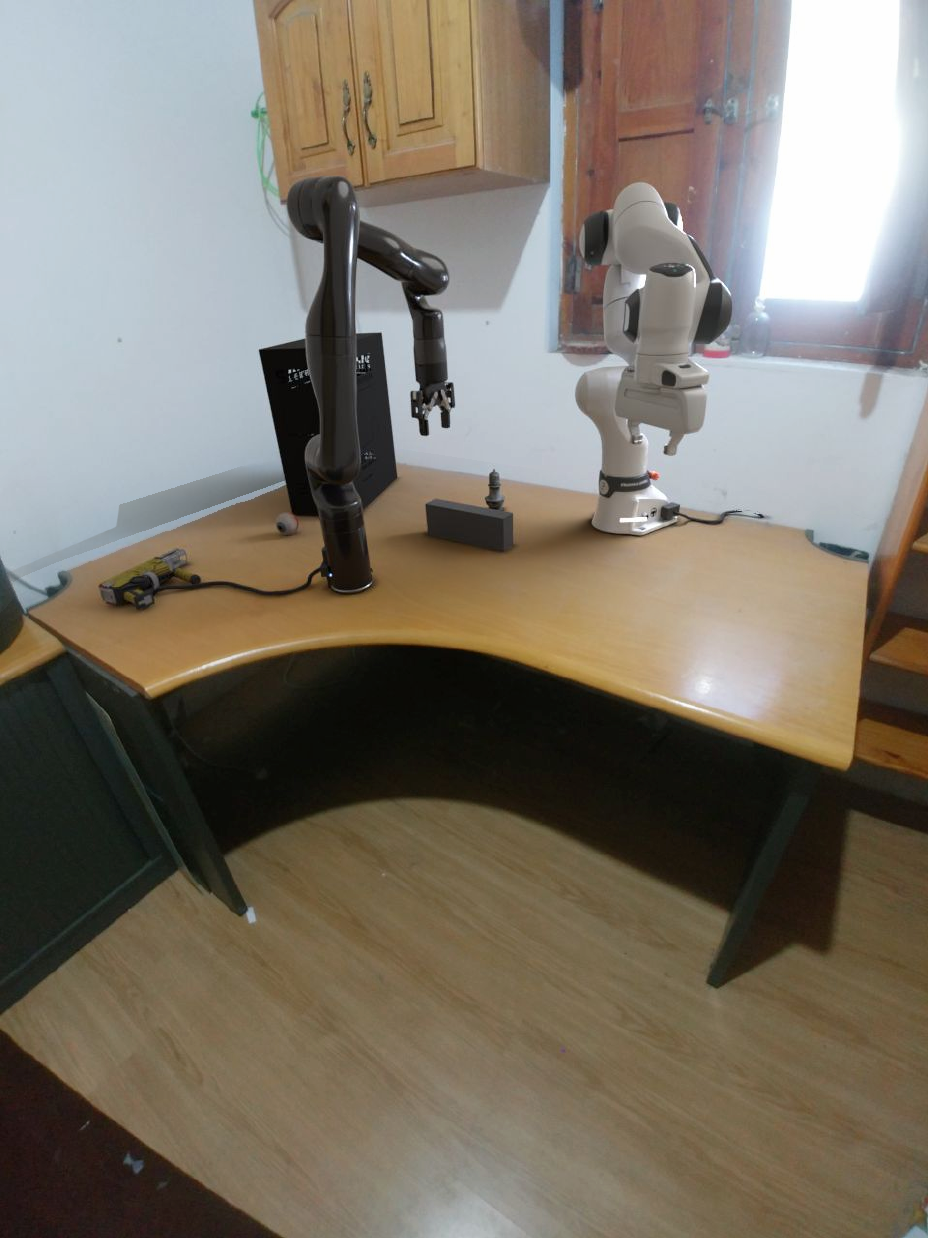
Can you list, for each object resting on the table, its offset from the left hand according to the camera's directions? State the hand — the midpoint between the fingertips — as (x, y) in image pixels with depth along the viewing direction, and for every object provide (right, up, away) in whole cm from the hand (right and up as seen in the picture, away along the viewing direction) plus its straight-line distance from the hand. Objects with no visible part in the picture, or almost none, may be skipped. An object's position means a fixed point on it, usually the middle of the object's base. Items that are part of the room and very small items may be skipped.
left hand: (435, 431), depth 146 cm
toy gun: (-62, -38, -6) cm, 73 cm away
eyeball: (-41, -22, +19) cm, 50 cm away
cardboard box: (-30, -6, +46) cm, 55 cm away
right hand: (+42, -14, -34) cm, 56 cm away
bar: (+8, -25, +9) cm, 28 cm away
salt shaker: (+16, -14, +27) cm, 34 cm away
